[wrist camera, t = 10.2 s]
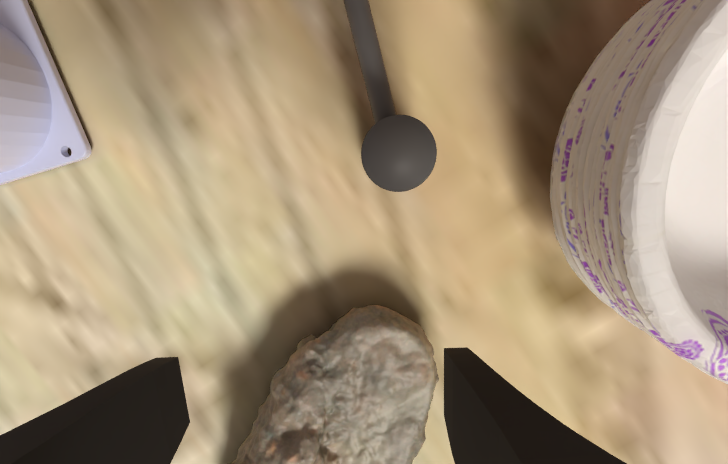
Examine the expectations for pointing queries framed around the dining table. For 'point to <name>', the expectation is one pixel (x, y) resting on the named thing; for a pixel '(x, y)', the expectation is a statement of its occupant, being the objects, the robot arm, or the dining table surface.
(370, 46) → the grey mallet
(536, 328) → the dining table surface
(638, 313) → the paper bowls
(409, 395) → the long grey stone
